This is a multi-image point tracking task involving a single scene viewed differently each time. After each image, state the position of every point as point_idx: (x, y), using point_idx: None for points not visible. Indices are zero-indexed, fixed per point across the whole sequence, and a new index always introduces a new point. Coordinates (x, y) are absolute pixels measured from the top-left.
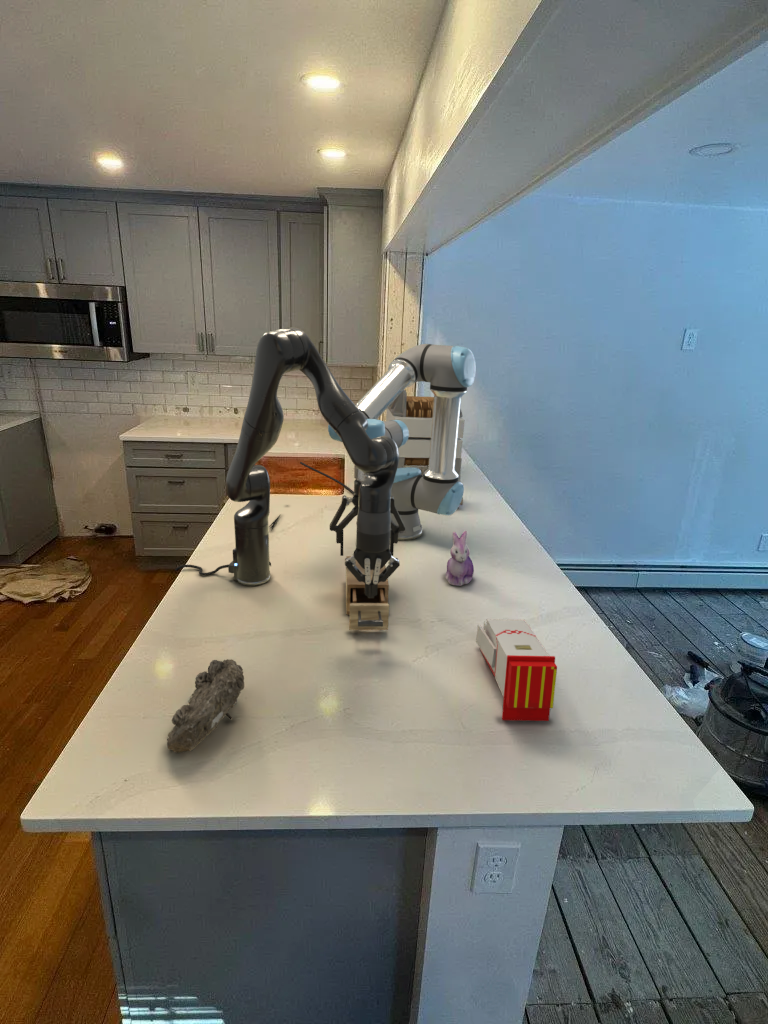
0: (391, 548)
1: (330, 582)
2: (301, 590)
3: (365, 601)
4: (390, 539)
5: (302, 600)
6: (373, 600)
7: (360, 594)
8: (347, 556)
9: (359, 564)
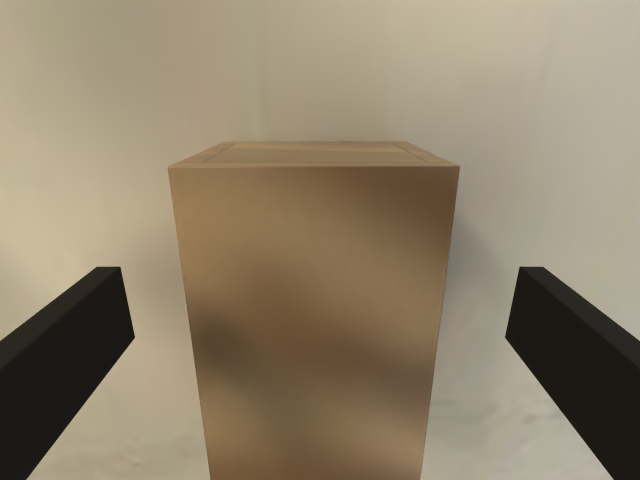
0: (545, 381)
1: (145, 127)
2: (27, 211)
3: None
4: (598, 372)
5: (59, 294)
6: None
7: None
8: (177, 176)
9: (272, 302)
